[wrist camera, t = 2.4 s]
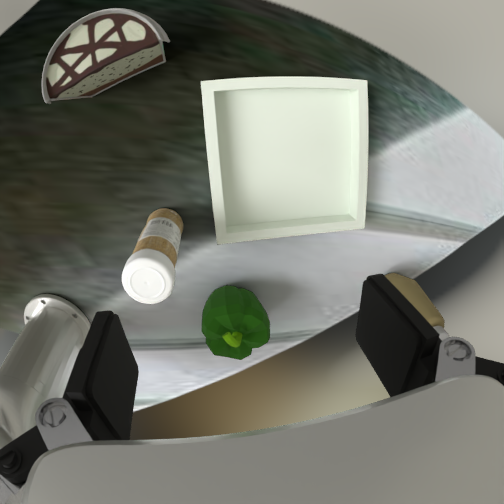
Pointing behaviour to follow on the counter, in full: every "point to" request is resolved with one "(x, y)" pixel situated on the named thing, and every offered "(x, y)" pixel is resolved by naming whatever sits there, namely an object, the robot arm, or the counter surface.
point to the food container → (101, 53)
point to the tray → (286, 155)
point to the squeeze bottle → (419, 301)
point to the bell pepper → (234, 322)
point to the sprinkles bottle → (154, 258)
